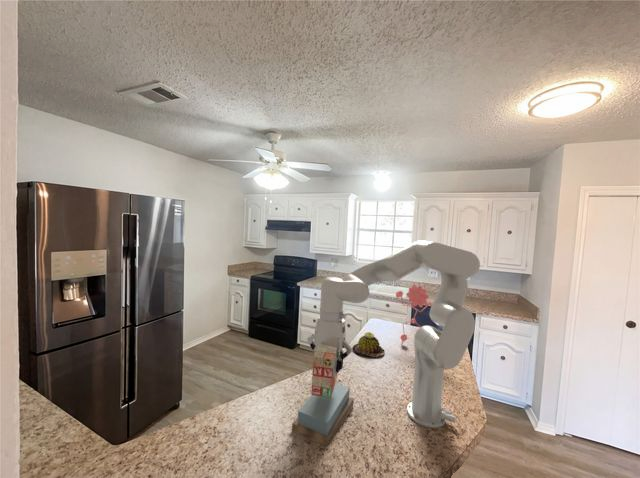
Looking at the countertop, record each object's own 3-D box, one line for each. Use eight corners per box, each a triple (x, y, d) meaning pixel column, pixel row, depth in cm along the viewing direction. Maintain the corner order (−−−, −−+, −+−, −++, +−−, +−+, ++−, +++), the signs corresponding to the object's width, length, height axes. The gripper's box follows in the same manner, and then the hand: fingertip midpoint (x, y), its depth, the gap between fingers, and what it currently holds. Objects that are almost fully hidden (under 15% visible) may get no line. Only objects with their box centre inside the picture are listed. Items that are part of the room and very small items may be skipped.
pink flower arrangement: (431, 358, 138) (436, 291, 137) (387, 341, 157) (391, 282, 155) (442, 349, 149) (447, 288, 147) (400, 334, 167) (404, 279, 166)
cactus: (350, 354, 138) (351, 336, 137) (354, 342, 153) (355, 325, 153) (384, 360, 133) (385, 341, 133) (384, 347, 149) (385, 330, 148)
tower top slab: (349, 398, 97) (349, 387, 96) (326, 436, 79) (327, 423, 78) (324, 389, 101) (324, 379, 101) (297, 423, 83) (298, 411, 83)
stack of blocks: (324, 360, 101) (326, 328, 100) (340, 363, 99) (342, 331, 99) (310, 395, 80) (313, 355, 79) (331, 398, 78) (334, 358, 78)
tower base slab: (353, 409, 97) (353, 398, 97) (325, 453, 77) (326, 440, 77) (323, 397, 102) (324, 387, 102) (291, 435, 83) (292, 423, 83)
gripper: (359, 317, 87) (356, 369, 88) (313, 307, 95) (310, 355, 96) (351, 324, 81) (348, 380, 82) (302, 312, 89) (299, 364, 89)
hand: (327, 366), depth 89 cm, fingers closed on stack of blocks, 7 cm apart
